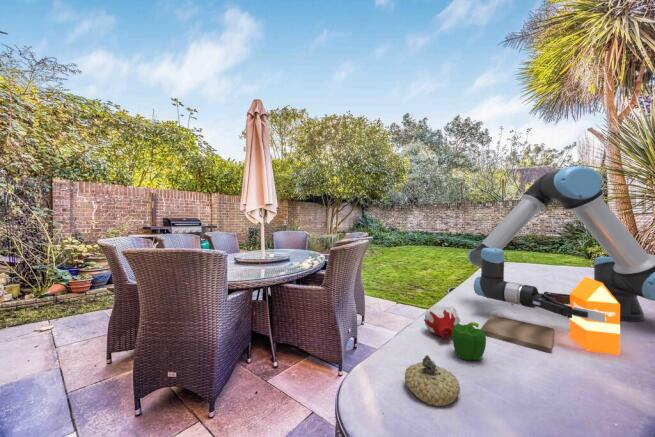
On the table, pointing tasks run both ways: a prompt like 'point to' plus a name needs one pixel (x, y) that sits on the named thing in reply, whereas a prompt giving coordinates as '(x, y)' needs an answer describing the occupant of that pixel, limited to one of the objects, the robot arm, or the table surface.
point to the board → (520, 333)
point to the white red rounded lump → (441, 320)
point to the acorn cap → (432, 383)
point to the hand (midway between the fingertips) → (608, 312)
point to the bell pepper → (469, 341)
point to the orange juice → (595, 332)
